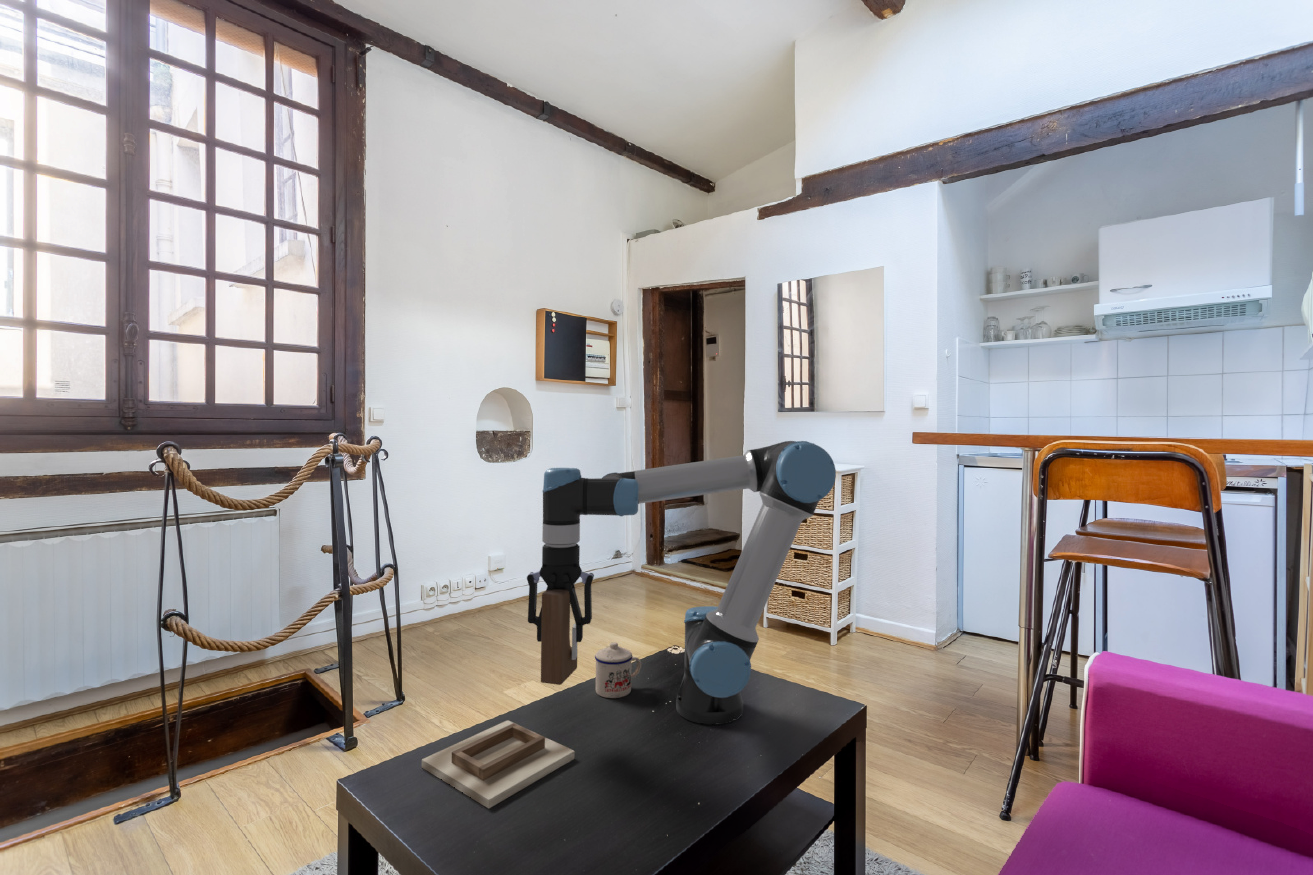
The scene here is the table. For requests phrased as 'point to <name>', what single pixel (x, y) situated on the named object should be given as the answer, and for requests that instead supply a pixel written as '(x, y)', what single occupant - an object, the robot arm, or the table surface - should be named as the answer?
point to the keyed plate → (497, 762)
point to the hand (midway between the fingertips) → (559, 656)
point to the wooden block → (556, 637)
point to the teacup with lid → (614, 671)
